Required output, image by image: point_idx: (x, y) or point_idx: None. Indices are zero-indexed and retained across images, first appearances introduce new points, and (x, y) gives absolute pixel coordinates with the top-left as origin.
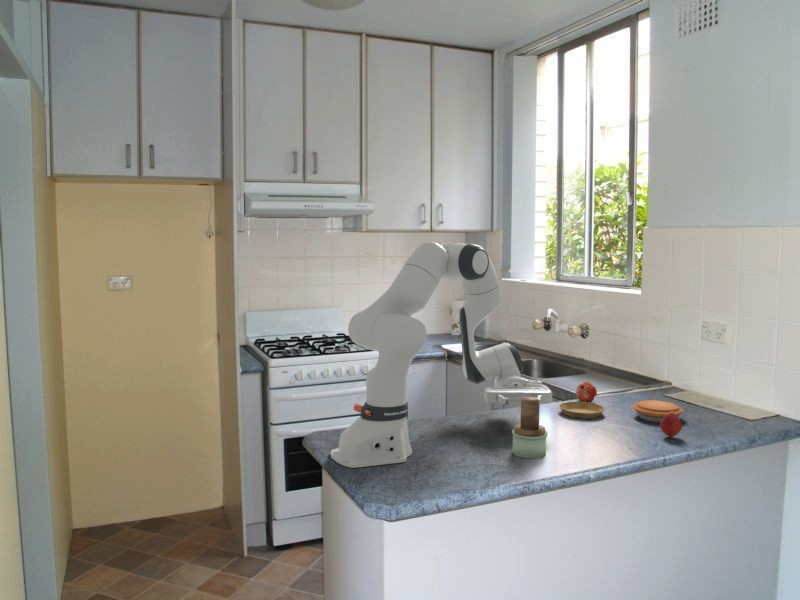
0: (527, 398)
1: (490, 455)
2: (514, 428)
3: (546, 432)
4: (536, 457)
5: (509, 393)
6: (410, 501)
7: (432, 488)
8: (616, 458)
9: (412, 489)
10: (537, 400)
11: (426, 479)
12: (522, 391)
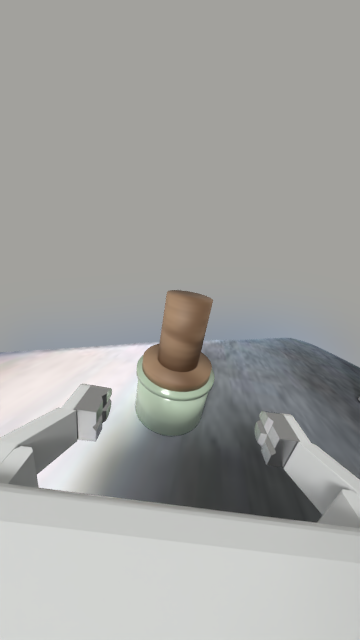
0: (196, 298)
1: (242, 405)
2: (210, 365)
3: (140, 360)
4: None
5: (301, 523)
6: (280, 338)
7: (276, 347)
8: (23, 361)
9: (291, 349)
10: (175, 291)
11: (292, 359)
12: (154, 531)
